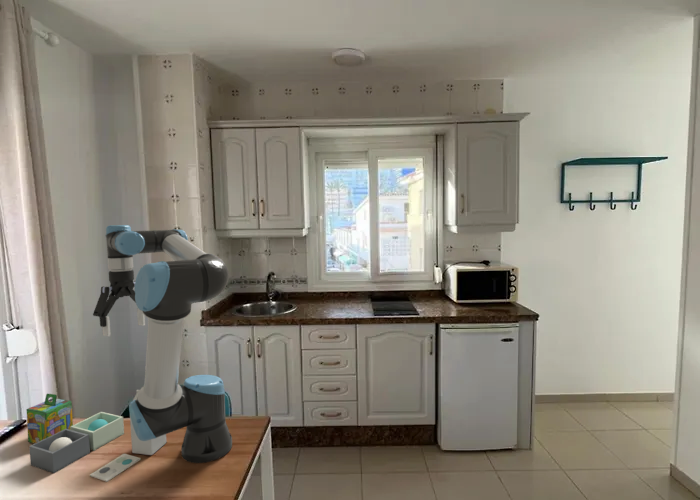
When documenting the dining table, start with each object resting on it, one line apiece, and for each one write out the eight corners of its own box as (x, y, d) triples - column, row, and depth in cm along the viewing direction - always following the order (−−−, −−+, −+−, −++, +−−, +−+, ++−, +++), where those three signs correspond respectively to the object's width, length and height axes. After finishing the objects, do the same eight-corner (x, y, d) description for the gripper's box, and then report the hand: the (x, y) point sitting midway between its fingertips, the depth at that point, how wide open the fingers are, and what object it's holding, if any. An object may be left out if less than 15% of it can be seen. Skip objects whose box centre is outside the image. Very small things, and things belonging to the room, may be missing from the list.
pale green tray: (124, 433, 136) (123, 416, 136) (94, 450, 126) (92, 432, 126) (102, 428, 140) (101, 411, 140) (71, 444, 130) (70, 426, 130)
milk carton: (151, 455, 123) (148, 396, 122) (131, 453, 125) (128, 394, 123) (166, 443, 130) (163, 386, 129) (147, 440, 132) (144, 385, 130)
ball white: (77, 454, 124) (77, 435, 124) (57, 464, 118) (56, 444, 118) (65, 450, 126) (64, 432, 126) (44, 460, 121) (43, 441, 120)
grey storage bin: (90, 453, 125) (88, 434, 125) (54, 473, 115) (52, 453, 115) (67, 446, 129) (66, 428, 129) (30, 465, 119) (29, 446, 119)
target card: (140, 459, 121) (140, 457, 121) (106, 481, 111) (106, 479, 111) (124, 454, 124) (124, 453, 124) (89, 476, 114) (89, 474, 114)
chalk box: (27, 442, 132) (23, 399, 131) (55, 428, 140) (52, 388, 139) (47, 447, 129) (44, 403, 128) (74, 432, 138) (71, 391, 137)
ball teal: (113, 434, 135) (112, 417, 135) (96, 443, 129) (95, 425, 129) (101, 431, 137) (100, 414, 137) (83, 440, 132) (82, 422, 131)
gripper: (143, 265, 150) (147, 320, 152) (77, 274, 127) (82, 339, 129) (158, 265, 147) (161, 322, 149) (93, 275, 124) (98, 341, 126)
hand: (124, 330), depth 139 cm, fingers open, 13 cm apart
